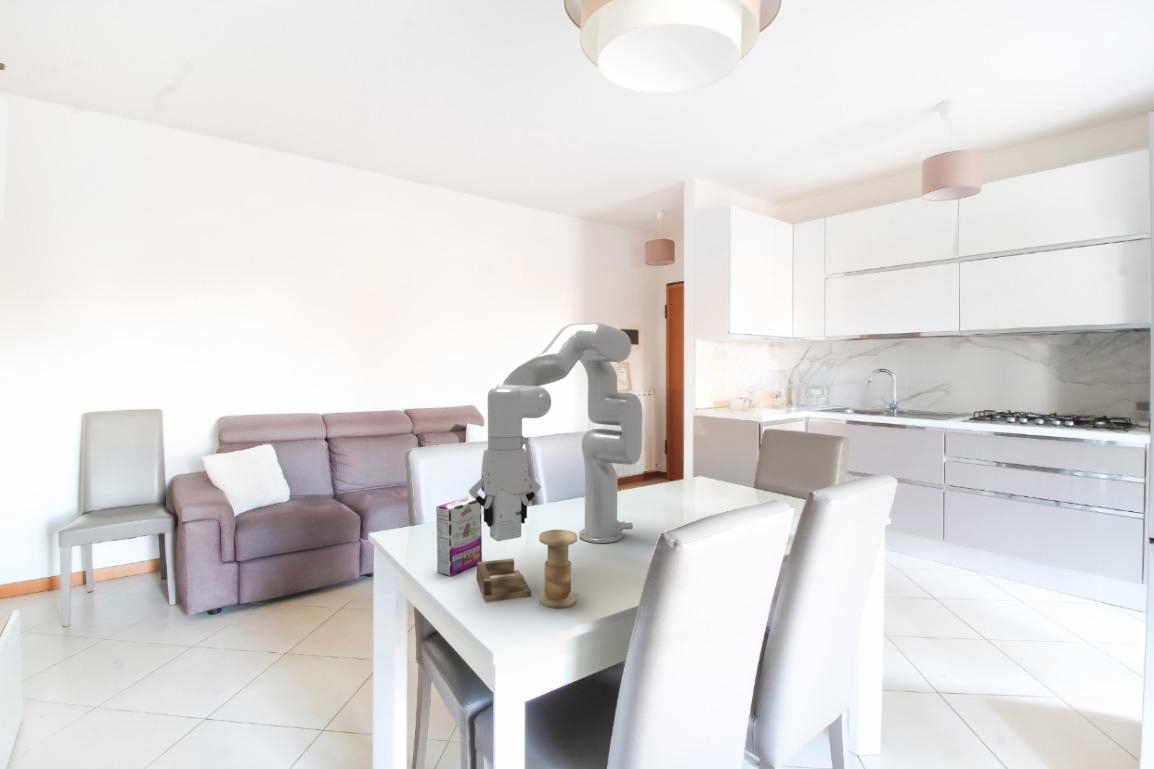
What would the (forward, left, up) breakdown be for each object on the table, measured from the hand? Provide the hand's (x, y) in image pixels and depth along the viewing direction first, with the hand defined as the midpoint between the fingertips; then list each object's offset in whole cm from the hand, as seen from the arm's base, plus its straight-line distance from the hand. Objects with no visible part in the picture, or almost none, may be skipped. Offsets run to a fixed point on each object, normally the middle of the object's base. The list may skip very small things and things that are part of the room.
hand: (505, 522), depth 123 cm
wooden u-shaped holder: (0, -1, -15) cm, 15 cm away
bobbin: (-10, +9, -15) cm, 20 cm away
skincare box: (0, 0, -3) cm, 3 cm away
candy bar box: (+8, -16, -15) cm, 24 cm away
